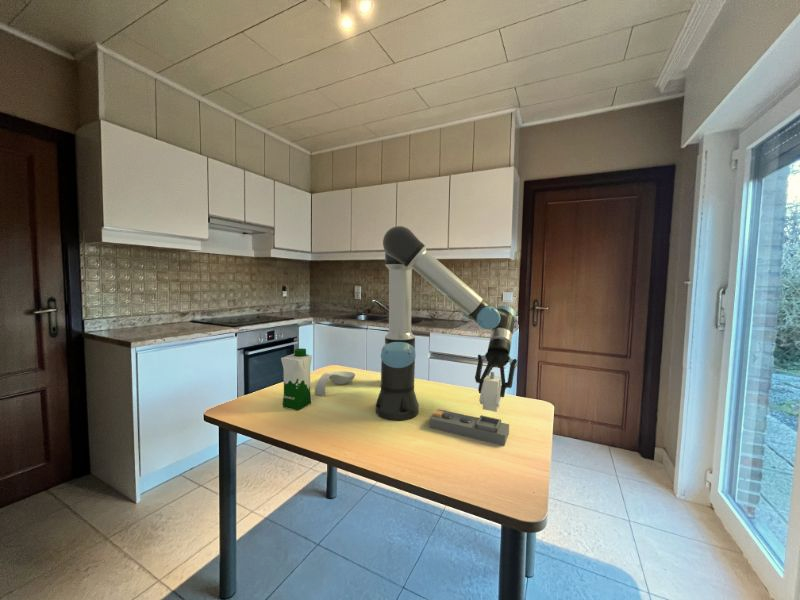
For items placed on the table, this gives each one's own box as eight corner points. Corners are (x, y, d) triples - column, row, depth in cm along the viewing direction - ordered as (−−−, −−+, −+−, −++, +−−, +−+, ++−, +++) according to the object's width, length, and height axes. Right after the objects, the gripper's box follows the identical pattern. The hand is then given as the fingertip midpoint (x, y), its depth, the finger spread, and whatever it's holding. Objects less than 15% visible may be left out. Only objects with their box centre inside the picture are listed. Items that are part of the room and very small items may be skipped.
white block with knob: (482, 409, 109) (483, 373, 108) (485, 403, 114) (487, 369, 113) (496, 411, 107) (498, 375, 106) (499, 406, 112) (500, 371, 111)
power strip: (429, 427, 105) (429, 414, 105) (438, 417, 113) (438, 405, 112) (504, 445, 95) (505, 431, 95) (508, 433, 102) (509, 420, 102)
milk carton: (314, 402, 123) (314, 349, 121) (298, 412, 115) (298, 355, 113) (295, 399, 126) (295, 347, 125) (278, 407, 118) (277, 352, 116)
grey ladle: (336, 377, 154) (336, 361, 154) (359, 380, 151) (359, 364, 150) (306, 394, 132) (306, 376, 131) (333, 398, 128) (333, 380, 128)
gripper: (526, 352, 119) (518, 414, 106) (477, 346, 127) (464, 403, 114) (525, 340, 114) (517, 403, 101) (474, 335, 122) (460, 393, 108)
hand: (489, 403), depth 107 cm, fingers closed on white block with knob, 4 cm apart
